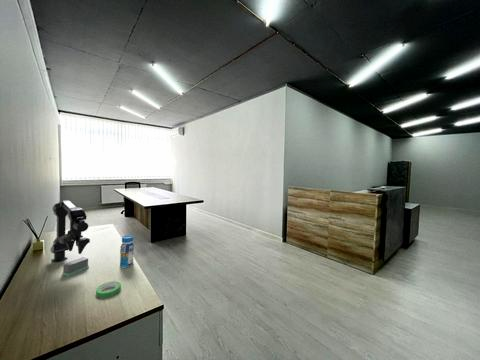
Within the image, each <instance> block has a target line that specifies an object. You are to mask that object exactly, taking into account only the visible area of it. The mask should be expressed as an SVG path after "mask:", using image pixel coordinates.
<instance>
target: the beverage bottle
mask: <svg viewBox="0 0 480 360" xmlns="http://www.w3.org/2000/svg"><path fill="white" fill-rule="evenodd" d="M133 241H134V236H133V235H124V236H122V237H121V245H120V250H119V253H120V256H119V257H120V260H119V267H120V268H122V269H124V268H126V267H127V268H130V267H132V266H133V265H134V256H135V255H134V254H135V253H134V252H135V244H134V242H133ZM129 266H130V267H129Z"/></svg>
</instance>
